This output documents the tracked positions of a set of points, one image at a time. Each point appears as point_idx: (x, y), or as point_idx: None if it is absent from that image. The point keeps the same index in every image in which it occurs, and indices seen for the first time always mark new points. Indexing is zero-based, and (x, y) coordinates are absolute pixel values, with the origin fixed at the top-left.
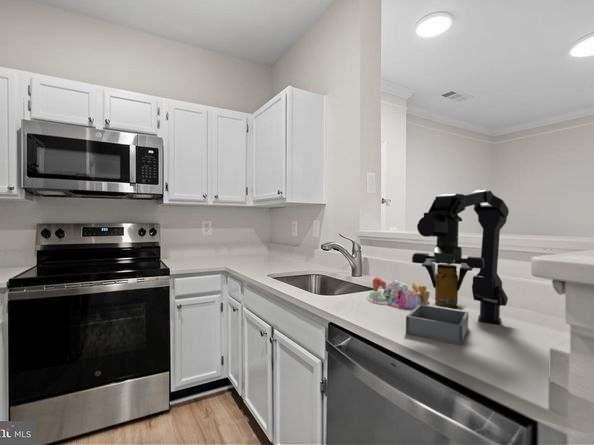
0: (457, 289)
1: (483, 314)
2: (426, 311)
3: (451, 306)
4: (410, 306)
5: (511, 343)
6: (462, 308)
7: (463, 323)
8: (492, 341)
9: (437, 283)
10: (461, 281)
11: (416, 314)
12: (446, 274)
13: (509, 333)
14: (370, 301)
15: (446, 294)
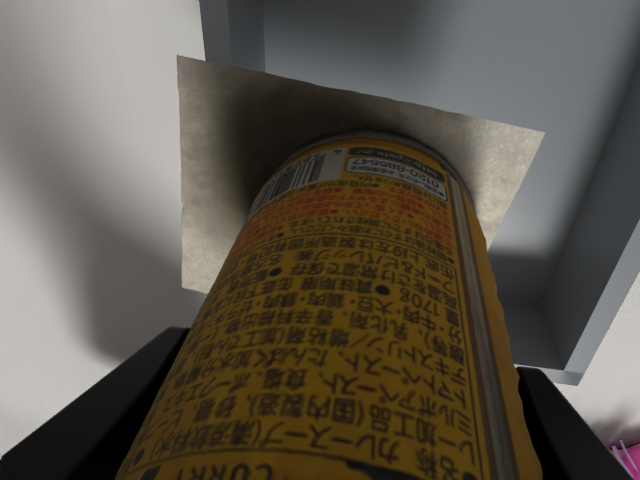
0: (181, 337)
1: None
2: (512, 333)
3: (297, 156)
4: None
5: (30, 135)
6: (195, 162)
7: (201, 4)
8: (109, 110)
9: (500, 388)
10: (32, 439)
11: (612, 214)
12: None
13: (87, 285)
14: None
15: (334, 208)
